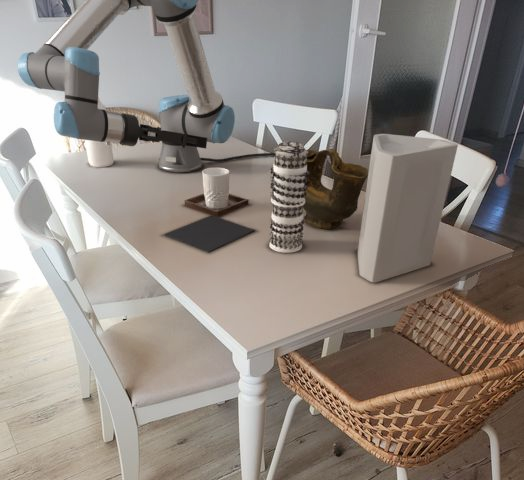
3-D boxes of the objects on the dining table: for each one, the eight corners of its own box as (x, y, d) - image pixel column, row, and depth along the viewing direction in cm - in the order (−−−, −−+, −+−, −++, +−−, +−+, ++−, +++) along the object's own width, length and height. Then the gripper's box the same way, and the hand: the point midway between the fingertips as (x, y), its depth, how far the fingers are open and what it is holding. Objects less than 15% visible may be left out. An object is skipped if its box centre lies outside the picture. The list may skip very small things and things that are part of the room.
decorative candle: (292, 256, 127) (299, 152, 113) (261, 247, 131) (263, 145, 116) (309, 244, 134) (318, 143, 119) (279, 235, 137) (283, 137, 123)
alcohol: (83, 164, 185) (67, 70, 167) (102, 158, 191) (88, 67, 173) (100, 169, 181) (85, 73, 163) (119, 163, 187) (106, 70, 169)
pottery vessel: (278, 213, 151) (281, 142, 139) (305, 205, 157) (310, 136, 145) (341, 241, 136) (351, 164, 124) (368, 231, 141) (380, 156, 130)
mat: (211, 216, 148) (211, 215, 147) (254, 231, 140) (254, 230, 139) (164, 235, 136) (164, 234, 136) (208, 252, 128) (208, 251, 128)
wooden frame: (215, 194, 163) (215, 189, 162) (248, 204, 156) (248, 199, 155) (184, 205, 154) (184, 200, 153) (218, 217, 147) (217, 211, 146)
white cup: (209, 211, 150) (208, 177, 145) (199, 202, 156) (198, 169, 150) (234, 207, 153) (233, 173, 148) (223, 199, 159) (222, 166, 153)
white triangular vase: (388, 242, 135) (408, 129, 119) (431, 264, 125) (459, 144, 109) (332, 258, 127) (345, 139, 111) (372, 283, 117) (394, 156, 100)
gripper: (102, 140, 141) (173, 150, 153) (138, 149, 123) (214, 160, 135) (103, 110, 138) (175, 123, 150) (140, 115, 120) (218, 129, 132)
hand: (194, 140), depth 143 cm, fingers open, 13 cm apart
